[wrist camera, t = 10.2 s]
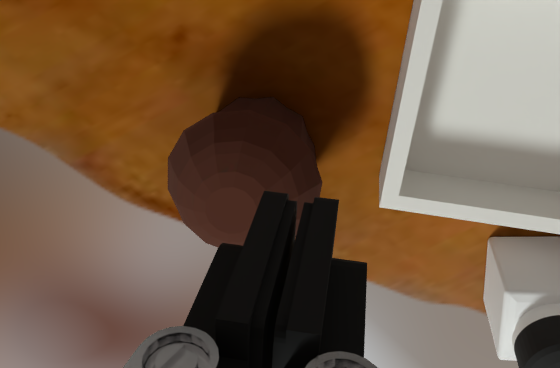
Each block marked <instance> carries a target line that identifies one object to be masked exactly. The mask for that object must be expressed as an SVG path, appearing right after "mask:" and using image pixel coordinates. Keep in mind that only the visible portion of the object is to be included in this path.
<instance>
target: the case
mask: <svg viewBox="0 0 560 368" xmlns="http://www.w3.org/2000/svg"><path fill="white" fill-rule="evenodd" d="M379 207H382V208H389V209H395V210H402V211H408V212H415V213H422V214H428V215H435V216H441V217H448V218H455V219H461V220H468V221H475V222H481V223H488V224H494V225H501V226H508V227H514V228H521V229H527V230H534V231H541V232H547V233H554V234H560V0H414V2H413V7H412V12H411V17H410V22H409V27H408V32H407V37H406V42H405V47H404V52H403V57H402V62H401V67H400V72H399V78H398V83H397V88H396V93H395V98H394V103H393V108H392V113H391V118H390V123H389V128H388V133H387V138H386V143H385V148H384V153H383V159H382V164H381V169H380V174H379Z"/></svg>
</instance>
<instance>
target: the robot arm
mask: <svg viewBox="0 0 560 368" xmlns="http://www.w3.org/2000/svg"><path fill="white" fill-rule="evenodd" d="M338 204H339V200H335V199H327V198H319V197H315V198H314V202H313V203H308V202H304V206H303V210H302V214H301V218H300V222H299V226H298V230H297V235H296V239H295V230H296V216H297V201H292V200H289V194H287V193H279V192H271V191H264V192H263V195H262V197H261V200H260V203H259V205H258V208H257V210H256V213H255V216H254V218H253V221H252V224H251V226H250V229H249V231H248V234H247V237H246V239H245V242H244V244H243V246H242V245H235V244H228V243H222V244H220V246H219V248H218V250H217V252H216V254H215V257H214V259H213V261H212V263H211V265H210V268H209V270H208V272H207V274H206V277H205V279H204V281H203V283H202V285H201V288H200V290H199V292H198V294H197V297H196V299H195V301H194V303H193V306H192V308H191V310H190V312H189V315H188V317H187V319H186V321H185V323H184V326H177V327H169V328H166V329H163V330H160V331H158V332H156V333H154V334H152V335H151V336H149V337H148V338H146V340H144V341H143V343H142V344H141V345H140V346H139V347H138V348H137V349H136V351H135V352H134V353H133V355H132V356H131V358H130V359H129V360H128V362H127V363H126V364H125V366H124V367H123V368H377V367H376V366H375V365H374V364H372V363H371V362H370V361H368V360H367V359H365V358H364V335H365V308H366V281H367V263H365V262H358V261H350V260H343V259H336V258H332V254H333V246H334V237H335V229H336V221H337V212H338Z"/></svg>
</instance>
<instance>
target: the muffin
mask: <svg viewBox="0 0 560 368" xmlns="http://www.w3.org/2000/svg"><path fill="white" fill-rule="evenodd" d="M321 186H322V180H321V177H320V174H319V171H318V168H317V164H316V156H315V147H314V144H313V142H312V141H311V139H310V137H309V135H308V133H307V130H306V127H305V123H304V120H303V116H301V115H299V114H297V113H296V112H294V111H292V110H290V109H288V108H287V107H285V106H284V105H283V104H281V103H280V102H279V101H278V100H276V99H275V98H274V97H268V98H259V99H253V98H240V97H239V98H238V99H236V100H235V101H233V102H232V103H231V104H229V105H228V106H226V107H225V108H224V109H222V110H221V111H219V112H217V113H212V114H210V115H209V116H207V117H205V118H204V119H202V120H200V121H199V122H197V123H195V124H194V125H192V126H190V127H189V128H187V129H185V130H184V131H183V133H182V135H181V136H180V138H179V140H178V142H177V143H176V145H175V147H174V149H173V150H172V152H171V154H170V156H169V157H168V190H169V192H170V194H171V196H172V199H173V201H174V203H175V205H176V207H177V209H178V211H179V213H180V216H181V218H182V220H183V222H184V224H185V225H186V226H188V227H189V228H190V229H191V230H192V231H193V232H194V233H195V234H196V235H198V236H199V237H200V238H201V239H202V240H203V241H204V242H206V243H208V244H211V245H213V246H216V247H219V246H220V244H222V243H228V244H235V245H242V246H243V244H244V242H245V239H246V237H247V234H248V231H249V229H250V226H251V224H252V221H253V218H254V216H255V213H256V210H257V208H258V205H259V203H260V200H261V197H262V195H263V192H264V191H271V192H279V193H287V194H289V200H292V201H297V216H296V230H295V237H296V235H297V230H298V226H299V222H300V218H301V214H302V210H303V206H304V202H308V203H313V202H314V198H315V197H320V192H321Z"/></svg>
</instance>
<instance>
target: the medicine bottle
mask: <svg viewBox="0 0 560 368" xmlns="http://www.w3.org/2000/svg"><path fill="white" fill-rule="evenodd" d="M483 300H484V304H485V308H486V312H487V316H488V320H489V324H490V328H491V331H492V336H493V339H494V343H495V348H496V351H497V355H498V358H499V359H501V360H516V361H517V362H518V366H519V368H560V236H542V237H490V238H489V239H488V248H487V260H486V273H485V285H484V298H483Z"/></svg>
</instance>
